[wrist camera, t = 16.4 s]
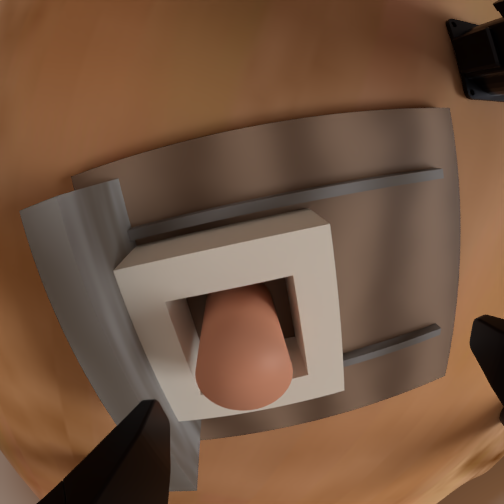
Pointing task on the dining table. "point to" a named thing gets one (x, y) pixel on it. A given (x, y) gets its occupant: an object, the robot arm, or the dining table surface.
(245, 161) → the board
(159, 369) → the block
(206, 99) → the dining table surface
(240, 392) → the dowel
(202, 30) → the dining table surface
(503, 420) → the vinegar
